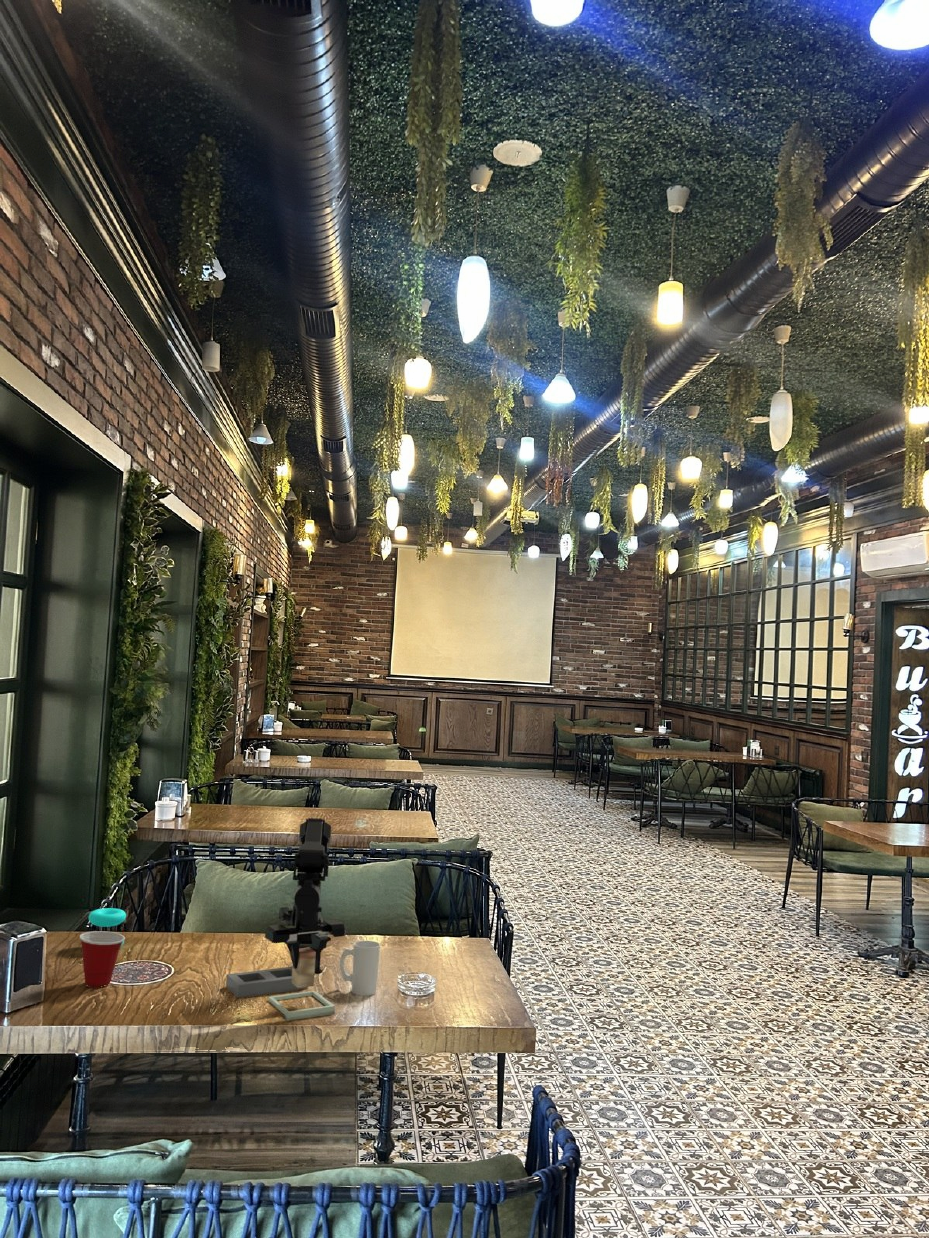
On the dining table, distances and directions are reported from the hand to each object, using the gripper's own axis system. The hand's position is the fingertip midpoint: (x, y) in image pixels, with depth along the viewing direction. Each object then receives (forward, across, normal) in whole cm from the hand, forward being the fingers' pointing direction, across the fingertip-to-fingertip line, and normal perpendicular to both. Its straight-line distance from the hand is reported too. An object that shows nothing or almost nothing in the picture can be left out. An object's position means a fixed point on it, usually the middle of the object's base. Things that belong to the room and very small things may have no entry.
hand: (303, 967), depth 224 cm
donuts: (+10, +31, -68) cm, 75 cm away
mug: (+10, -18, -6) cm, 21 cm away
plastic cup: (+10, +39, -36) cm, 54 cm away
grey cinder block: (+10, +3, -15) cm, 18 cm away
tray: (+10, 0, 0) cm, 10 cm away
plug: (+4, 0, 0) cm, 4 cm away
